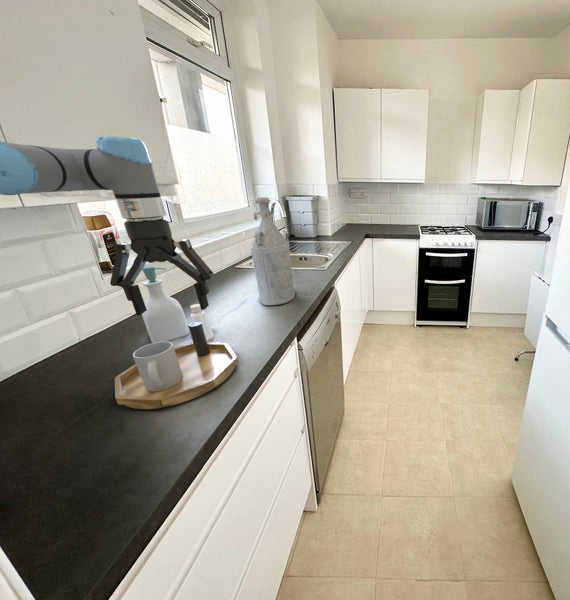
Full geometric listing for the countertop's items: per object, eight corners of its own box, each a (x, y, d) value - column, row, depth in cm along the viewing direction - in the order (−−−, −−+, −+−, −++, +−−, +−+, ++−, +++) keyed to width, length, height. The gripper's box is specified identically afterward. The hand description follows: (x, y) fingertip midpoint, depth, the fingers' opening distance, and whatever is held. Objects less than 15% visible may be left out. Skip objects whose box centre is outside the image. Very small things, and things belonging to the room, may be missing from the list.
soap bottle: (192, 337, 97) (171, 266, 88) (154, 348, 91) (127, 273, 82) (185, 327, 103) (165, 260, 95) (149, 337, 97) (124, 266, 89)
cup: (184, 370, 77) (174, 338, 74) (180, 393, 69) (168, 358, 66) (149, 379, 74) (136, 346, 71) (139, 403, 66) (125, 368, 63)
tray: (88, 407, 67) (69, 367, 63) (172, 349, 89) (162, 317, 85) (195, 411, 65) (181, 370, 61) (253, 351, 87) (246, 319, 84)
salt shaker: (218, 334, 99) (209, 302, 95) (207, 342, 94) (198, 309, 90) (201, 334, 99) (192, 301, 95) (190, 342, 94) (180, 309, 90)
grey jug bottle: (253, 307, 118) (230, 198, 104) (271, 292, 134) (254, 195, 120) (286, 307, 118) (268, 197, 103) (300, 291, 134) (287, 194, 119)
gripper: (63, 223, 61) (103, 321, 69) (202, 218, 65) (225, 311, 73) (90, 219, 68) (124, 308, 75) (215, 214, 72) (234, 299, 80)
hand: (174, 310), depth 74 cm, fingers open, 13 cm apart
